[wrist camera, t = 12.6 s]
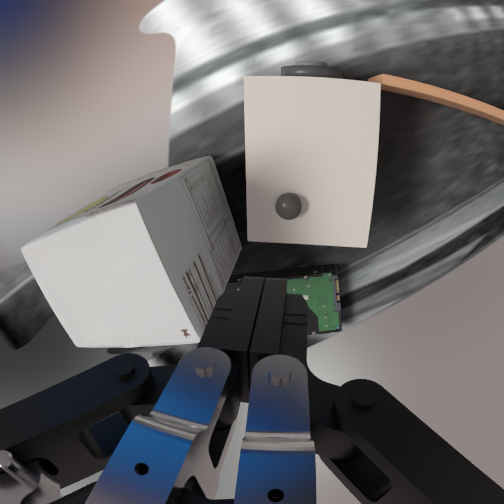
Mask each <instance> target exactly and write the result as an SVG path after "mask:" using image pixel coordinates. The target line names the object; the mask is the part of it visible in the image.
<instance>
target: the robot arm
mask: <svg viewBox="0 0 504 504" xmlns="http://www.w3.org/2000/svg"><path fill="white" fill-rule="evenodd" d="M307 324H308V304H307V302H306V300H305V299H304V297H303V296H302V294H287V279H279V278H266V281H265V278H263V277H248V276H244V277H243V279H242V282H241V285H240V288H239V290H229V289H227V290H226V291H225V292H224V293H223V294H222V295H220V296H219V297H218V299H217V301H216V304H215V306H214V310H213V311H212V313H211V316H210V318H209V320H208V323H207V325H206V327H205V330H204V332H203V335H202V337H201V339H200V342H199V344H198V347H197V349H194V350H191V351H190V352H188V353H186V354H185V355H184V356H183V357H182V359H181V360H180V362H179V363H178V364H175V365H169V366H157V367H149V364H148V362H147V360H146V359H145V358H143V357H142V356H140V355H137V354H133V353H126V354H121V355H118V356H115V357H113V358H111V359H109V360H107V361H105V362H103V363H101V364H99V365H97V366H94V367H92V368H90V369H88V370H86V371H84V372H82V373H80V374H77V375H75V376H73V377H71V378H69V379H67V380H65V381H62V382H61V383H58V384H56V385H54V386H52V387H49V388H47V389H45V390H43V391H41V392H38V393H36V394H34V395H32V396H30V397H27V398H25V399H23V400H21V401H18V402H16V403H14V404H12V405H9V406H7V407H5V408H3V409H0V504H316V466H315V454H318V455H319V456H320V458H321V460H322V461H323V462H324V463H325V465H326V466H327V467H328V468H329V469H330V470H331V471H332V472H333V473H334V475H335V476H336V477H337V478H338V479H339V480H340V481H341V482H342V483H343V484H344V486H346V488H347V489H348V490H349V491H350V492H351V493H352V494H353V495H354V496H355V497H356V498H357V499H358V500H359V501H360V502H361V504H504V489H502V488H501V487H500V486H499V485H498V484H496V483H495V482H494V481H493V480H492V479H490V478H489V477H488V476H487V475H485V474H484V473H483V472H482V471H481V470H479V469H478V468H477V467H476V466H475V465H473V464H472V463H471V462H470V461H469V460H467V459H466V458H465V457H464V456H463V455H461V454H460V453H459V452H458V451H457V450H455V449H454V448H453V447H452V446H451V445H450V444H448V443H447V442H446V441H445V440H444V439H443V438H441V437H440V436H439V435H438V434H437V433H435V432H434V431H433V430H432V429H431V428H430V427H428V426H427V425H426V424H425V423H424V422H423V421H421V420H420V419H419V418H418V417H417V416H416V415H414V414H413V413H412V412H411V411H410V410H408V409H407V408H406V407H405V406H404V405H403V404H402V403H400V402H399V401H398V400H397V399H396V398H395V397H394V396H392V395H391V394H390V393H389V392H388V391H387V390H385V389H384V388H383V387H382V386H381V385H379V384H378V383H376V382H373V381H371V380H367V379H356V380H351V381H348V382H346V383H344V384H343V385H342V386H341V387H340V386H337V385H333V384H330V383H327V382H324V381H322V380H320V379H319V378H317V377H316V376H314V374H312V372H311V371H310V370H309V368H308V365H307V361H306V357H307ZM240 402H246V403H249V405H248V415H247V424H246V431H245V437H244V438H243V440H242V445H241V452H240V459H239V467H238V475H237V483H236V490H235V498H234V499H222V500H214V498H215V496H216V492H217V488H218V480H219V474H220V470H221V467H222V464H223V461H224V458H225V455H226V453H227V450H228V447H229V444H230V441H231V438H232V435H233V432H234V429H235V426H236V423H237V415H238V410H239V406H240ZM118 411H119V412H118ZM116 412H117V413H116ZM114 413H115V414H114ZM112 414H113V415H112ZM110 415H111V416H110ZM108 416H109V417H108ZM106 417H107V418H106ZM104 418H105V419H104ZM102 419H103V420H102ZM100 420H101V421H100ZM98 421H99V422H98ZM96 422H97V423H96ZM94 423H95V424H94ZM92 424H93V425H92ZM90 425H91V426H90ZM103 469H104V470H103ZM101 470H103V472H102V474H101V475H100V477H99V479H98V481H96V482H93V483H91V484H89V485H87V486H85V487H83V488H81V489H79V490H77V491H74V492H72V493H71V494H68V495H66V496H64V497H62V496H61V494H60V489H61V488H64V487H66V486H69V485H71V484H73V483H75V482H78V481H80V480H82V479H84V478H87V477H89V476H91V475H93V474H95V473H97V472H99V471H101Z"/></svg>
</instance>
